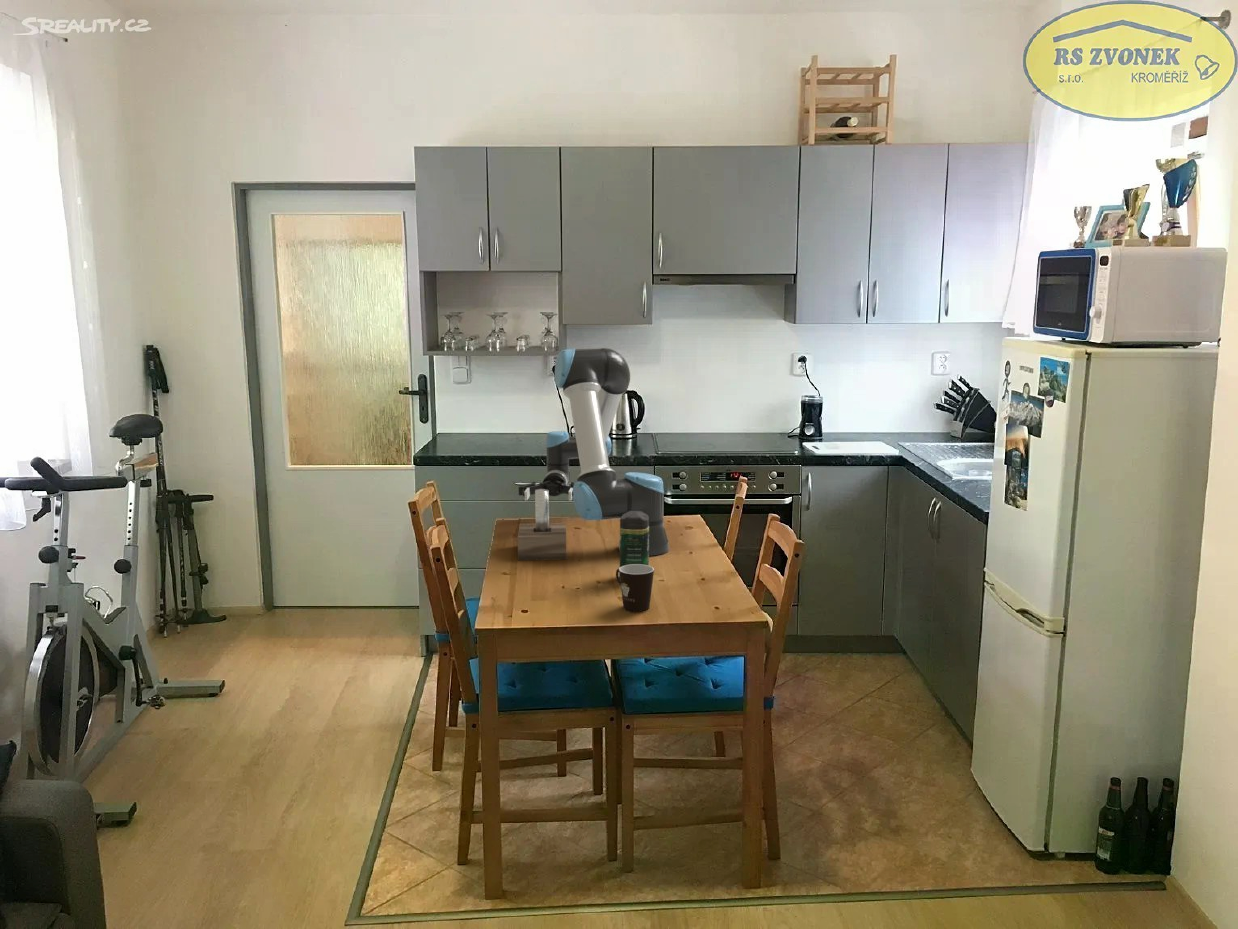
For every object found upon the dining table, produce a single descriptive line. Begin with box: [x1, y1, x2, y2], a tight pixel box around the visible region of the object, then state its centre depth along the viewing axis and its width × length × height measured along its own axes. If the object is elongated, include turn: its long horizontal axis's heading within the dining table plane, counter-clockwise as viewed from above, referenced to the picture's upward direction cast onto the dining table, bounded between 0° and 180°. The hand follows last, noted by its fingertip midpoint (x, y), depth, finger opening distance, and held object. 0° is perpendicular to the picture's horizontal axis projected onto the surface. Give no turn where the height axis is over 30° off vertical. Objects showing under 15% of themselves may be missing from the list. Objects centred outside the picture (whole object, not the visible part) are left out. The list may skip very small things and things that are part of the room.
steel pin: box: [534, 489, 550, 532], centre depth 287 cm, size 4×4×17 cm
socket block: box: [517, 522, 567, 561], centre depth 289 cm, size 16×14×7 cm
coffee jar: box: [619, 511, 650, 568], centre depth 261 cm, size 10×8×19 cm
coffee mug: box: [615, 564, 655, 613], centre depth 239 cm, size 12×9×10 cm
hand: (547, 496), depth 298 cm, fingers open, 13 cm apart
